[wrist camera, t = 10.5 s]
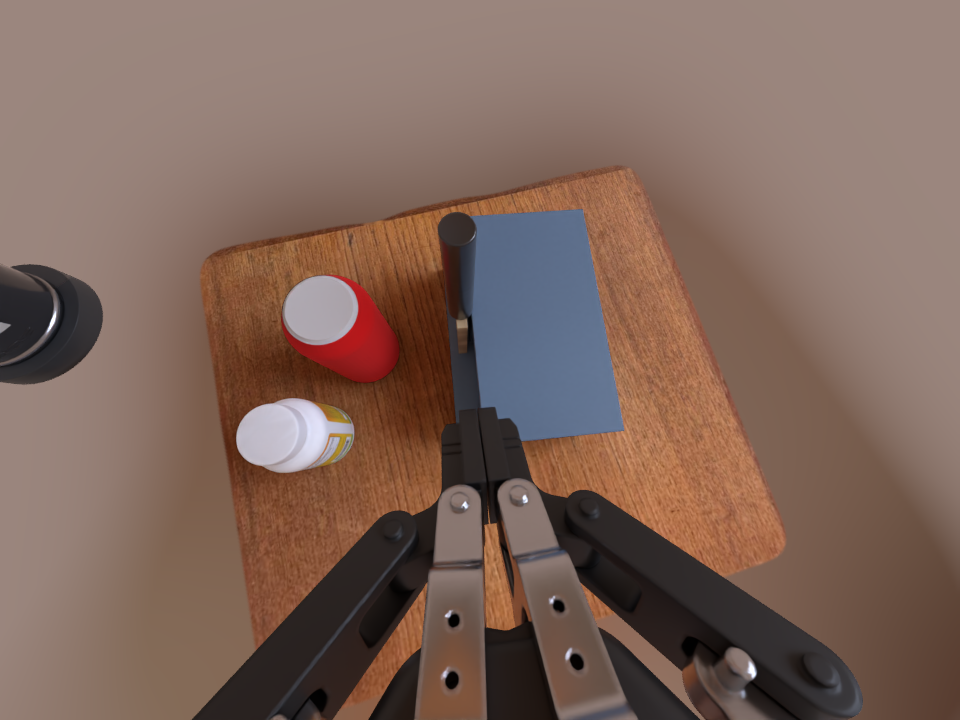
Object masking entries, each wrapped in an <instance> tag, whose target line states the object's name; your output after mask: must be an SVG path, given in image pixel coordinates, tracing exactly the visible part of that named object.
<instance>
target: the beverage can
mask: <svg viewBox="0 0 960 720" xmlns="http://www.w3.org/2000/svg"><path fill="white" fill-rule="evenodd" d="M281 322H282V328H283V331H284V334H285V336H286V338H287V340H288V341H289V343H290V344H291V345H292V347H293V348H294V349H296V350H297V351H298V352H299V353H300V354H302V355H304V356H305V357H307V358H309V359H311V360H313V361H315V362H317V363H319V364H321V365H323V366H325V367H327V368H329V369H331V370H333V371H335V372H337V373H339V374H340V375H342V376H344V377H346V378H348V379H350V380H353V381H356V382H362V383H368V382H374V381H377V380H379V379H381V378H383V377H385V376H386V375H387V374H389V373H390V372H391V371H392V369H393V368H394V367H395V365H396V363H397V361H398V357H399V351H400V348H399V342H398V339H397V337H396V335H395V333H394V332H393V330H392V329H391V327H390V326H389V324H388V323H387V321H386V320H385V318H384V317H383V315H382V314H381V312H380V311H379V309H378V308H377V306H376V305H375V303H374V302H373V300H372V299H371V297H370V296H369V295H368V293H367V292H366V291H365V290H364V289H363V288H362V287H361V286H360V285H358V284H357V283H356V282H354V281H352V280H350V279H348V278H345V277H342V276H337V275H319V276H313V277H309V278H307V279H304V280H302V281H301V282H299V283H298V284H296V285H295V286H294V287H293V288H292V289H291V290H290V291H289V293H288V294H287V296H286V298H285V300H284V303H283V306H282V314H281Z"/></svg>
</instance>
